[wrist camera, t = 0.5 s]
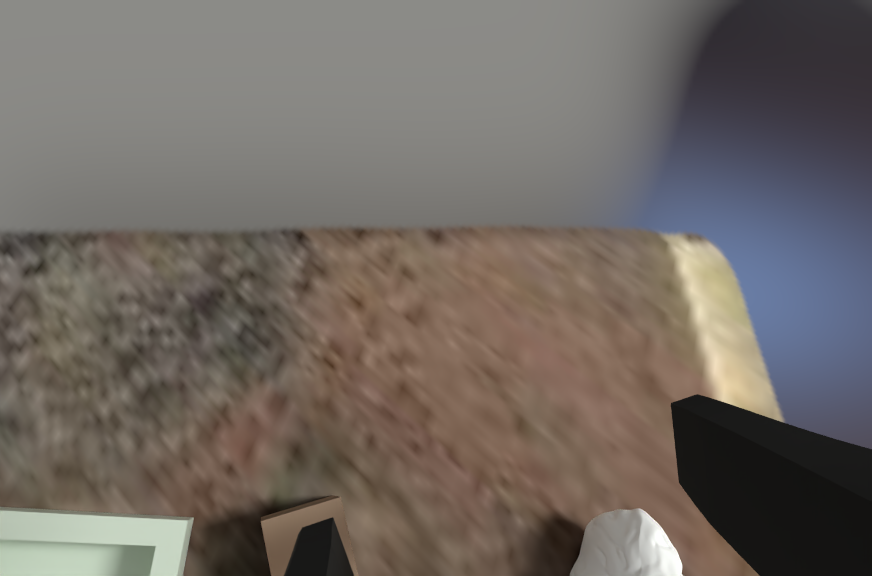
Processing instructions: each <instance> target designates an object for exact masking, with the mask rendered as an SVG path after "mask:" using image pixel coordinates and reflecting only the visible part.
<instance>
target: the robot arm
mask: <svg viewBox="0 0 872 576" xmlns="http://www.w3.org/2000/svg"><path fill="white" fill-rule="evenodd" d="M671 410H672V420H673V429H674V439H675V449H676V458H677V468H678V477H679V483H680V485H681V486H682V487H683V489H684V490H685V492H686V493H687V494H688V496H689V497H690V498H691V500H692V501H693V502H694V504H695V505H696V506H697V508H698V509H699V510H700V512H701V513H702V514H703V515H704V517H705V518H706V519H707V521H708V522H709V523H710V524H711V525H712V526H713V528H714V529H715V530H716V531H717V532H718V533H719V534H720V535H721V536H722V537H723V538H724V539H725V540H726V541H727V542H728V543H729V544H730V545H731V546H732V547H733V549H734V550H735V551H736V552H737V553H738V554H739V555H740V556H741V557H742V558H743V559H744V560H745V561H746V562H747V563H748V564H749V565H750V566H751V567H752V568H753V569H754V570H755V571H756V572H757V573H758V574H759V575H760V576H872V449H868V448H865V447H861V446H858V445H854V444H850V443H847V442H844V441H840V440H836V439H833V438H830V437H826V436H823V435H820V434H817V433H814V432H810V431H807V430H804V429H801V428H798V427H795V426H792V425H789V424H786V423H783V422H780V421H777V420H774V419H771V418H768V417H765V416H762V415H759V414H756V413H754V412H751V411H748V410H745V409H742V408H739V407H736V406H733V405H730V404H727V403H724V402H721V401H718V400H715V399H712V398H708V397H705V396H701V395H698V394H697V395H694V396H691V397H688V398H685V399H682V400H679V401H676V402H673V403H671ZM284 576H354V574H353V571H352V568H351V565H350V562H349V560H348V557H347V554H346V551H345V549H344V546H343V543H342V540H341V538H340V535H339V532H338V529H337V526H336V524H335V521H334V518H333V517H332V518H329V519H326V520H323V521H320V522H317V523H314V524H311V525H308V526H305V527H302V529H301V530H300V532H299V534H298V536H297V539H296V542H295V545H294V548H293V551H292V554H291V557H290V560H289V563H288V566H287V568H286V571H285V574H284Z"/></svg>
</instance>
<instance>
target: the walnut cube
mask: <svg viewBox="0 0 872 576" xmlns="http://www.w3.org/2000/svg"><path fill="white" fill-rule="evenodd" d="M332 517H333V518H334V521H335V524H336V526H337V529H338V532H339V535H340V538H341V540H342V543H343V546H344V549H345V551H346V554H347V557H348V560H349V562H350V565H351V568H352V571H353V574H354V576H358V572H357V568H356V563H355V559H354V554H353V550H352V545H351V541H350V536H349V532H348V527H347V523H346V518H345V514H344V509H343V505H342V501H341V497H338V496H329V497H325V498H322V499H319V500H316V501H312V502H309V503H306V504H302V505H299V506H296V507H292V508H289V509H286V510H283V511H279V512H276V513H273V514H269V515H266V516H263V517H261V525H262V530H263V535H264V541H265V546H266V551H267V556H268V561H269V567H270V572H271V576H284V574H285V571H286V568H287V566H288V563H289V560H290V557H291V554H292V551H293V548H294V545H295V542H296V539H297V536H298V534H299V532H300V530H301V529H302V527H305V526H308V525H311V524H314V523H317V522H320V521H323V520H326V519H329V518H332Z"/></svg>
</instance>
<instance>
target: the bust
mask: <svg viewBox="0 0 872 576" xmlns="http://www.w3.org/2000/svg"><path fill="white" fill-rule="evenodd" d="M681 573H682V563H681V560H680V558H679V555H678V553H677V551H676V549H675V548H674V546H673V545H672V543H671V542H670V540H669V539H668V537H667V535H666V534H665V532H664V530H663V529H662V528H661V526H660V525H659V524H658V523H657V522H656V521H655V520H654V519H653V518H652V517H651V516H649V515H648V514H647V513H646V512H645V511H644V510H642V509H633V510H622V509H618V510H615V511H612V512H606V513H602V514H600V515H598V516H596V517H595V518H594V519H592V520H591V521H590V522H589V523H588V525H587V526H586V528H585V532H584V537H583V541H582V545H581V550H580V554H579V557H578V559H577V561H576V562H575V564H574V566H573V568H572V570H571V572H570V576H683V575H682V574H681Z"/></svg>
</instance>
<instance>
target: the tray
mask: <svg viewBox="0 0 872 576" xmlns="http://www.w3.org/2000/svg"><path fill="white" fill-rule="evenodd" d="M193 519H194V517H178V516H160V515H141V514H123V513H105V512H87V511H69V510H50V509H32V508H14V507H0V576H183V572H184V567H185V562H186V556H187V551H188V546H189V540H190V535H191V530H192V525H193Z"/></svg>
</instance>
